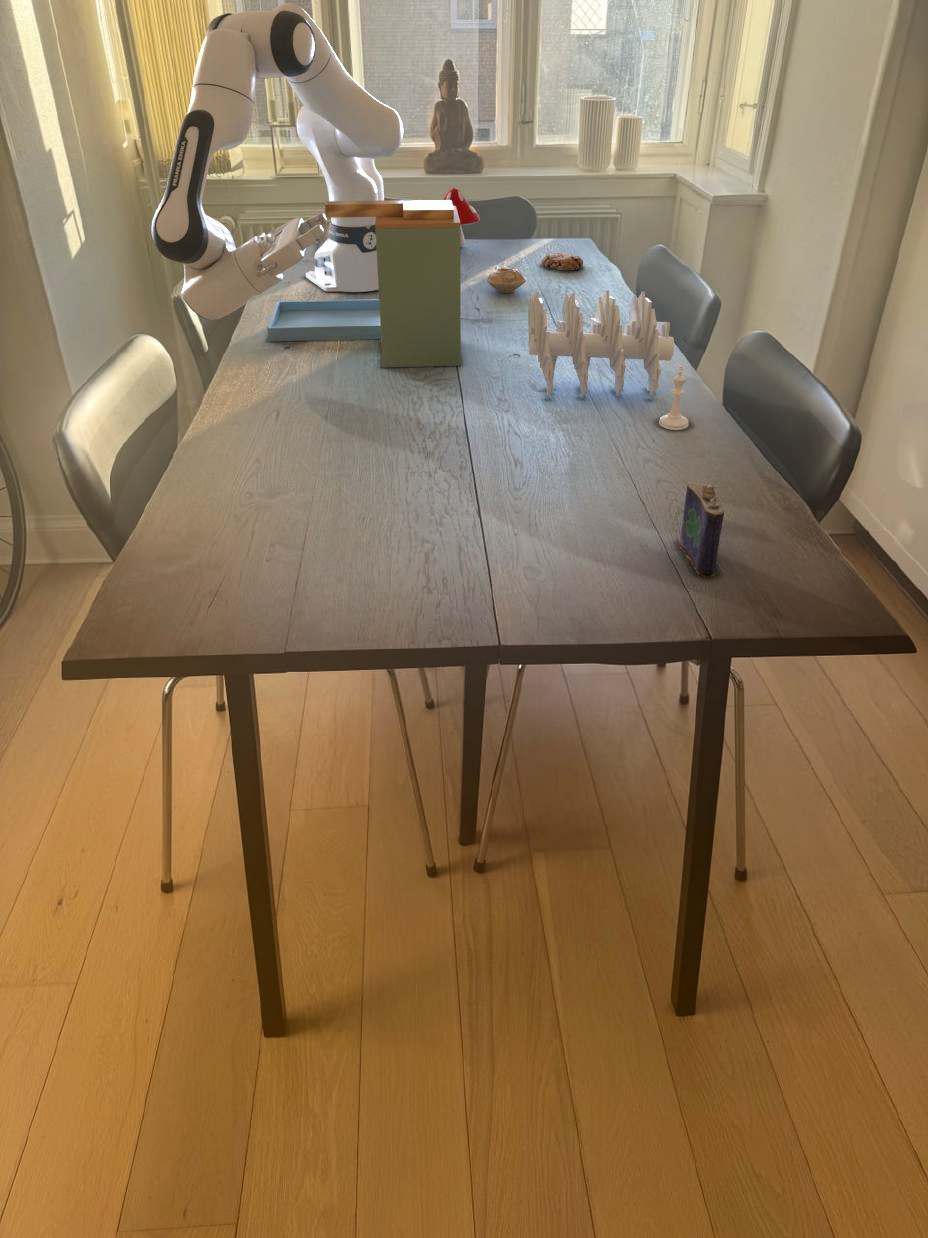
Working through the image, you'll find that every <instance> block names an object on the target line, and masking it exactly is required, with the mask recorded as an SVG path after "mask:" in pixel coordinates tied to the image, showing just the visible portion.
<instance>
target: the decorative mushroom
mask: <svg viewBox="0 0 928 1238" xmlns="http://www.w3.org/2000/svg"><path fill="white" fill-rule="evenodd" d="M441 200H451V201H452V205H453V206H456V209H457V212H458V216H459V220H460V248H462V247H463V246H464V245H465V244H466V243H465V242H466V240H465V235H464V232H463V228H462V226H470V225H473V224H476V223H478V222H480V220H481V218H480V215H479V214H478V212H477V211H476V209H475V208H474V207H473V206H472V205H471V204H470V203H469V201H468V200H467V199H466V198H465V196H464V195H463V193H462V192H461V190H460V189H458V188H455V187H453V188H450V189H449V190H448V191H447V192H446V193H445V196H444V197H443V198H442V199H441Z"/></svg>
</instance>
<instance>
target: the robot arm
mask: <svg viewBox="0 0 928 1238" xmlns="http://www.w3.org/2000/svg"><path fill="white" fill-rule="evenodd" d="M204 36H205V37H204V39H203V41H202V44H201V47H200V50H199V53H198V56H197V61H196V65H195V70H194V75H193V81H192V88H191V95H190V101H189V106H188V110H187V113H186V115H185V116H184V117H183V119H182V122H181V123H180V126H179V130H178V133H177V137H176V140H175V144H174V149H173V153H172V159H171V164H170V167H169V171H168V177H167V182H166V186H165V190H164V193H163V196H162V199H161V201H160V203H159V205H158V207H157V208H156V210H155V212H154V215H153V218H152V221H151V236H152V237H151V238H152V240H153V244H154V246H155V247H156V249H157V250H158V252H159V253H160V254H161V255H162V256H164V257H165V258H166V259H168V260H169V261H173V262H177V263H180V264H183V270H184V271H183V272H184V277H183V278H184V281H183V286H182V288H181V296H182V298H183V301H184V303H185V304H186V305H187V306H188V307H189V309H190V310H191V311H192V312H194V314H196V315H197V316H198V317H200V318H201V319H203V320H206V321H211V322H214V321H217V320H220V319H222V318H224V317H227V316H229V315H230V314H231V313H234V312H235V311H237V310H239V309H241V308H242V307H243V306H245V305H246V304H247V303H248V301H249V300H251V298H253V297H255V296H260V295H262V294H264V293H265V292H267V291H269V290H270V289H271V288H273V287H274V286H276V285H277V284H279V283H280V282H282V281H283V280H284V272H286V271H287V270H289V269H291V268H292V267H294V266H295V265H297V264H298V263H300V262H301V261H302V260H303V259H304V258H305V255H306V250H307V249H308V248H309V247H310V246H311V245H312V244H313V243H314V242H317V243H318V245H317V250H316V251H315V253H314V258H313V264H314V269H312V270H309V271H307V272H305V278H306V279H307V280H309V281H310V282H312V283H313V284H315V285H316V286H317V287H319V288H320V289H322V290H323V291H325V292H331V293H333V292H343V293H365V292H374V291H379V287H378V267H377V248H376V228H375V221H376V217H336V218H330V222H327V221H328V218H326V216H325V212H323V211H322V212H318V214H316V215H314V216H312V217H309V218H307V219H305V220H304V219H303V217H301V216H299V217H295V218H293V219H291V220H289V221H287V222H285V223H284V224H282V225H280V226H278V227H277V228H275V229H272V230H271V231H269V232H268V233H267V234H266V233H265V232H262V233H260V234H258V235H257V236H253V237H251V238H250V239H248V240H247V241H246V242H243V244H241V245H239V246H238V247H237V245H236V241H235V239H234V237H233V235H232V233H231V232H230V229H228V228H227V227H226V226H225V225H224V224H223V223H222V222H220V221H218V220H216V219H215V218H213V217H211V216H209V215H207V214H206V213H205V211H204V207H203V196H204V191H205V188H206V183H207V178H208V173H209V168H210V164H211V160H212V159H213V157H214V155H215V154H217V153H218V152H220V151H228V150H232V149H235V148H237V147H239V146H240V145H241V144H243V143H244V142H245V141H246V140H247V138H248V135H249V132H250V129H251V125H252V123H253V114H254V109H255V108H254V107H255V99H256V85H257V81H256V80H266V79H277V78H285V80H286V81H287V83H288V84H289V86H290V87H291V88H292V90H293V92H294V93H295V95H296V97H297V98H298V99H299V101H300V102H301V104H302V106H301V108H300V110H299V111H298V113H297V118H296V131H297V136H298V138H299V141H300V143H301V144H302V145H303V146H304V147H305V149H307V150H308V151H309V152H310V153H311V155H312V156H313V158H314V159H315V160H316V163H317V164H318V167H319V169H320V170H321V173H322V175H323V178H324V180H325V183H326V188H327V194H328V201H378V192H377V187H376V185H375V183H374V181H373V180H372V179H371V178H370V177H369V176H367V175H366V174H365V173H364V172H363V170H362V169H361V167H360V165H359V163H358V160H357V158H366V159H374V160H376V159H385V158H389V157H393V156H395V154H396V153H397V152H398V151H399V149H400V147H401V146H402V142H403V139H404V126H403V121H402V119H401V117H400V115H399V113H398V111H396V110H395V109H394V108H392V107H390V106H388V105H387V104H385V103H383V102H381V101H380V100H379V99H377V98H375V97H374V95H372V94H370V93H369V92H368V91H367V90H365V88H364V87H362V86H361V85H360V84H359V83H358V82H357V81H356V80H355V79H354V78H353V77H352V76H351V75H350V74H349V72H347V70H346V68H345V67H344V66H343V64H342V63H341V61H340V59H339V58H338V56H337V55H336V53H335V51H334V50H333V47H332V46H331V44H330V43H329V41H328V39H327V38H326V36H325V34H324V33H323V31H322V30H321V28H320V27H319V26H318V25H317V23H316V22H315V21H314V20H313V18H312V17H311V16H310V14H308V12H306V11H305V9H304V8H303V7H302V6H300V5H298V4H296V3H292V2H285V3H282V4H280V5H278V6H276V7H274V8H273V9H272V10H269V9H268V10H267V9H255V10H252V11H242V12H238V13H231V12H228V13H222V14H221V15H220V14H219V15H218V16H216V17H214V18H213V19H212V20H211V21H210V23H209V24H208V27H207V29H206V32H205V35H204ZM323 225H327V226H326V227H325V228H326V229H328V233H327V239H326V240H325V241H323V240H322V239H321V237H323V236H324V233H325V230H324V228H323V227H322V226H323Z"/></svg>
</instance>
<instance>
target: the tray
mask: <svg viewBox="0 0 928 1238" xmlns="http://www.w3.org/2000/svg"><path fill="white" fill-rule="evenodd" d="M267 337H268V342H305V341H307V342H309V341H311V342H312V341H350V340H351V341H355V340H381V326H380V306H379V298H369V299H368V298H367V299H366V298H365V299H362V298H361V299H360V298H359V299H317V300H316V299H315V300H314V299H313V300H276V301H275V305H274V308H273V310H272V314H271V317H270V320H269V322H268V325H267Z"/></svg>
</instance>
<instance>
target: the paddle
mask: <svg viewBox="0 0 928 1238" xmlns="http://www.w3.org/2000/svg"><path fill="white" fill-rule="evenodd" d="M324 215H325V216H326V218H327V219H329V218H330V219H331V218H336V217H403V219H404V220H411V219H454V209H453V205H452V201H451V200H442V199H440V200H439V199H438V200H437V199H436V200H434V199H433V200H404V199H393V200H391V199H390V200H387V199H384V200H383V201H329V200H326V201H325V202H324Z"/></svg>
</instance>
